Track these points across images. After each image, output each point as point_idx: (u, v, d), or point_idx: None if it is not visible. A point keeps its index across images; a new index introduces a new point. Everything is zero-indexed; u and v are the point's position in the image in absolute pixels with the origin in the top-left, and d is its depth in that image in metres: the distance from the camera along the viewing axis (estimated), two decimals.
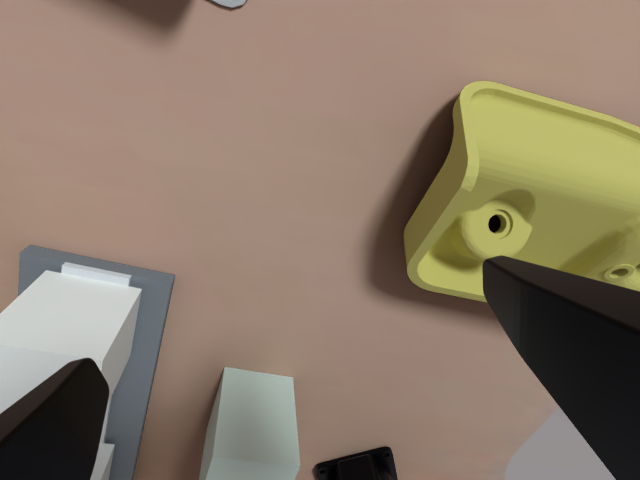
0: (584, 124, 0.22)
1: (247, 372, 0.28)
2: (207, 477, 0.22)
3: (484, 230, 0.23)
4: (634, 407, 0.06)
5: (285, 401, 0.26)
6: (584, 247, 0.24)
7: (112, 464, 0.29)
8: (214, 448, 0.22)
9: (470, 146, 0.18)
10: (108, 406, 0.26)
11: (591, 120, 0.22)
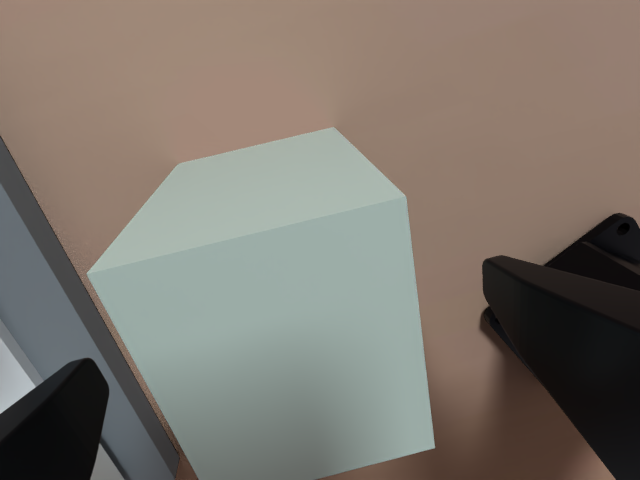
0: None
1: (228, 152, 0.12)
2: (135, 354, 0.07)
3: None
4: (634, 407, 0.06)
5: (323, 146, 0.10)
6: None
7: (110, 444, 0.15)
8: (104, 255, 0.06)
9: None
10: None
11: None
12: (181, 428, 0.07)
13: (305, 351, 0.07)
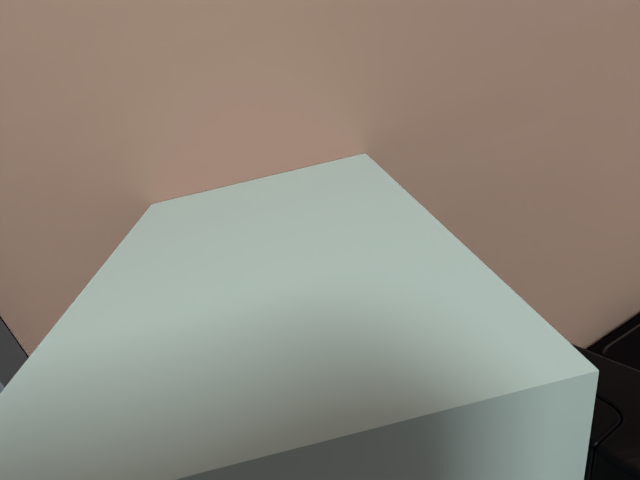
0: None
1: (221, 190, 0.09)
2: None
3: None
4: None
5: (360, 190, 0.07)
6: None
7: None
8: None
9: None
10: None
11: None
12: None
13: None
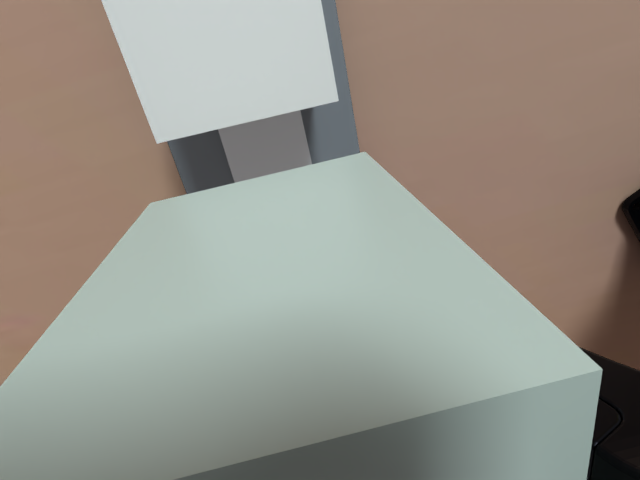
0: None
1: (220, 188, 0.09)
2: None
3: None
4: None
5: (360, 188, 0.07)
6: None
7: None
8: None
9: None
10: None
11: None
12: None
13: None
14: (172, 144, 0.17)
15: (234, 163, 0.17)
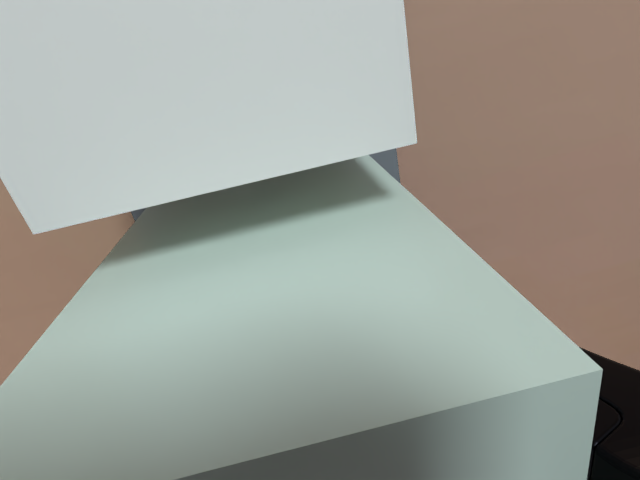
0: None
1: None
2: None
3: None
4: None
5: (360, 188, 0.07)
6: None
7: None
8: None
9: None
10: None
11: None
12: None
13: None
14: None
15: None
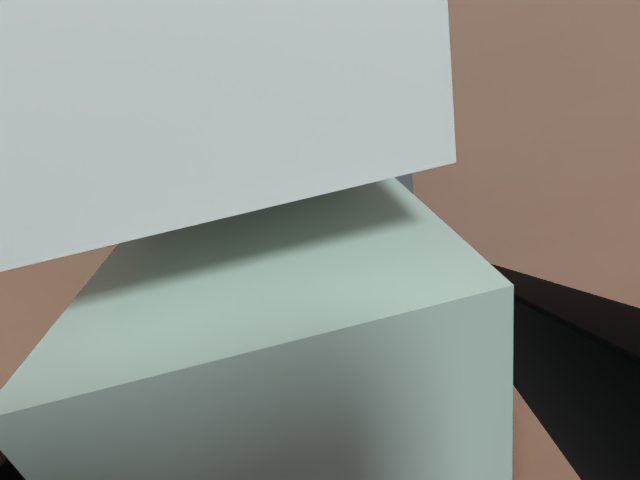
0: None
1: None
2: None
3: None
4: (600, 416, 0.06)
5: None
6: None
7: None
8: (19, 374, 0.04)
9: None
10: None
11: None
12: None
13: None
14: None
15: None
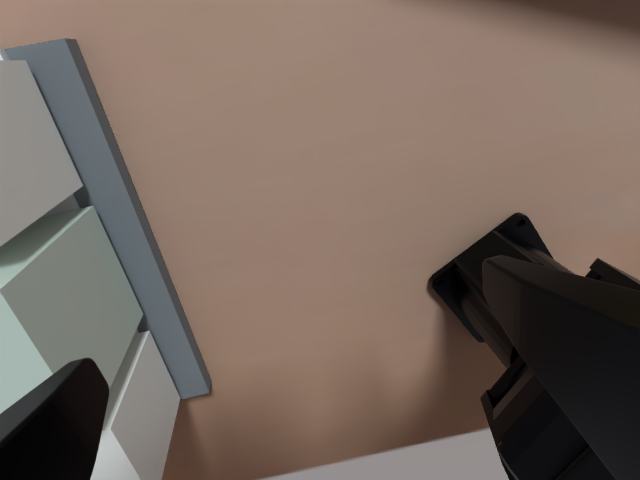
0: None
1: None
2: None
3: None
4: (634, 407, 0.06)
5: (53, 230, 0.15)
6: None
7: (168, 362, 0.22)
8: None
9: None
10: None
11: None
12: None
13: None
14: None
15: None
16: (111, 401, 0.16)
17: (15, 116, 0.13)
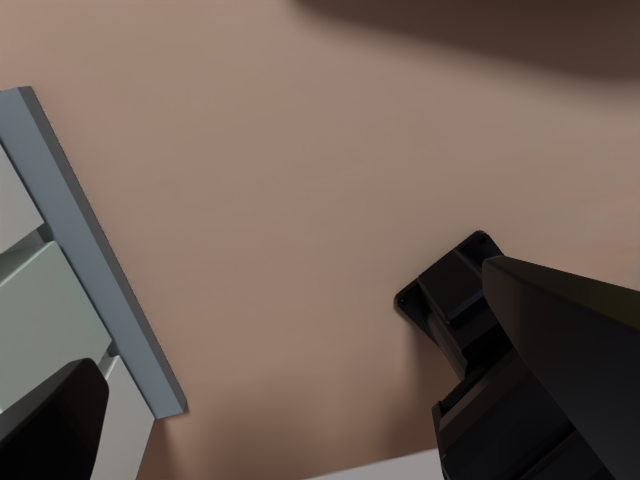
0: None
1: None
2: None
3: None
4: (634, 407, 0.06)
5: (11, 268, 0.16)
6: None
7: (140, 384, 0.23)
8: None
9: None
10: None
11: None
12: None
13: None
14: None
15: None
16: None
17: None
